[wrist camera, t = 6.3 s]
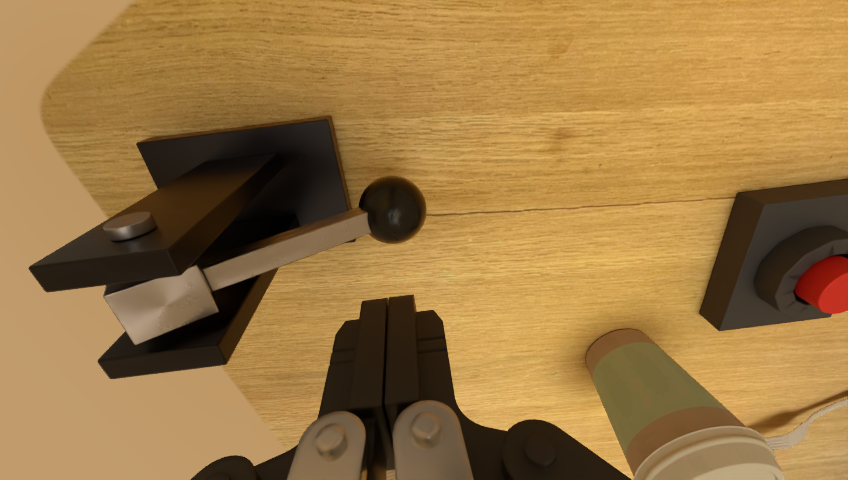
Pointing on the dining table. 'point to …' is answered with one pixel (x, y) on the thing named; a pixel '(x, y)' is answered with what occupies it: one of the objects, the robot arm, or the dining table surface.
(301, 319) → the dining table surface
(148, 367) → the bracket
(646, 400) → the coffee cup
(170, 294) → the lever
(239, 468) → the robot arm
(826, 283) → the button
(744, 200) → the button block
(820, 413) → the fork
